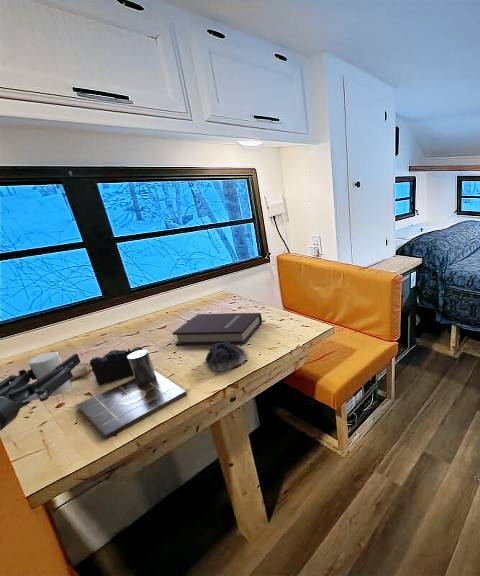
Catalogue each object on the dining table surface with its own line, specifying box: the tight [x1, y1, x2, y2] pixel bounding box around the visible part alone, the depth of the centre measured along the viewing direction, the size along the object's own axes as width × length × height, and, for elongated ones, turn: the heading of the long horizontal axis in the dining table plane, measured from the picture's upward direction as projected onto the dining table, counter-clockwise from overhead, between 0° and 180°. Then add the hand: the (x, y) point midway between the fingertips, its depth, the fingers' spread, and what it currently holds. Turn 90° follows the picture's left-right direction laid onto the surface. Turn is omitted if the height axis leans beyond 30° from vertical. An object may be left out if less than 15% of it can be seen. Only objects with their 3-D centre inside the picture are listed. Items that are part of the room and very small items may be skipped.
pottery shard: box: [70, 362, 91, 382], centre depth 106 cm, size 11×4×10 cm
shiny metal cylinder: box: [127, 349, 156, 385], centre depth 98 cm, size 5×5×10 cm
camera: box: [89, 346, 144, 386], centre depth 105 cm, size 14×11×10 cm
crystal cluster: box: [205, 341, 246, 372], centre depth 110 cm, size 13×14×10 cm
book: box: [172, 312, 263, 347], centre depth 132 cm, size 28×20×6 cm
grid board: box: [76, 369, 188, 440], centre depth 92 cm, size 22×20×2 cm
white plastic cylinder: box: [27, 351, 73, 397], centre depth 79 cm, size 5×5×10 cm
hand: (64, 359), depth 83 cm, fingers closed on white plastic cylinder, 5 cm apart
